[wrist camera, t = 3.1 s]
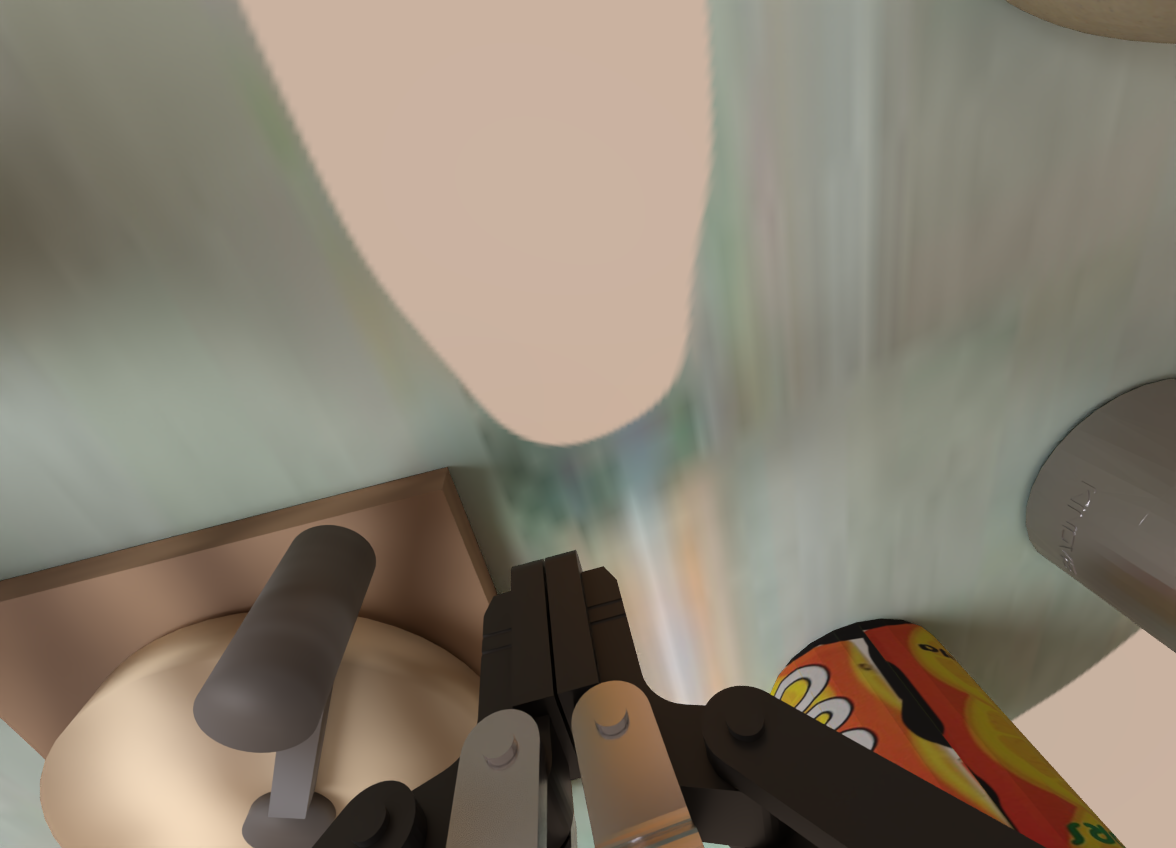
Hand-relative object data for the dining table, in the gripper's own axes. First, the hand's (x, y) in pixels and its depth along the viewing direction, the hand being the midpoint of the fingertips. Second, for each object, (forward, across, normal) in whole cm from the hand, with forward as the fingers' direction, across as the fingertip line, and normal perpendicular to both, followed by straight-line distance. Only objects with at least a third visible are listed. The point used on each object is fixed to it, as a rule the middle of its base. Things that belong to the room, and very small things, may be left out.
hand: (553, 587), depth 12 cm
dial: (+6, +12, +9) cm, 16 cm away
